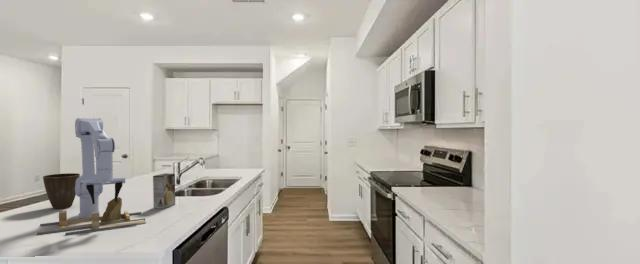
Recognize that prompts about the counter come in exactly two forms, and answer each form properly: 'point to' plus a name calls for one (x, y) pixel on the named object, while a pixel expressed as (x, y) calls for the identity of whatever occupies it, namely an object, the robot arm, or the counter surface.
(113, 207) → the rock
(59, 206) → the plant pot
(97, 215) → the maple strip
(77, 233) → the rails
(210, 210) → the counter surface
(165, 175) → the coffee box
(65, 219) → the oak sled
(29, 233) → the counter surface
